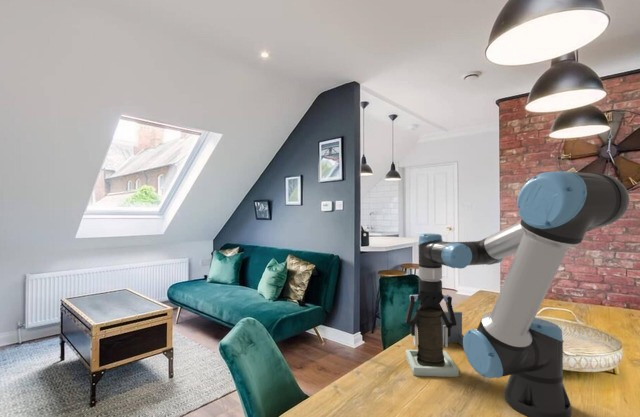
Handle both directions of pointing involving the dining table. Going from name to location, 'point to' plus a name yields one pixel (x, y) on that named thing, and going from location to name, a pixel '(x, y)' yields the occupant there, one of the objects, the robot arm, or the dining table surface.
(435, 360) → the container
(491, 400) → the dining table surface
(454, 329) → the dock
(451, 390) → the dining table surface
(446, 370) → the tray
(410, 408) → the dining table surface
